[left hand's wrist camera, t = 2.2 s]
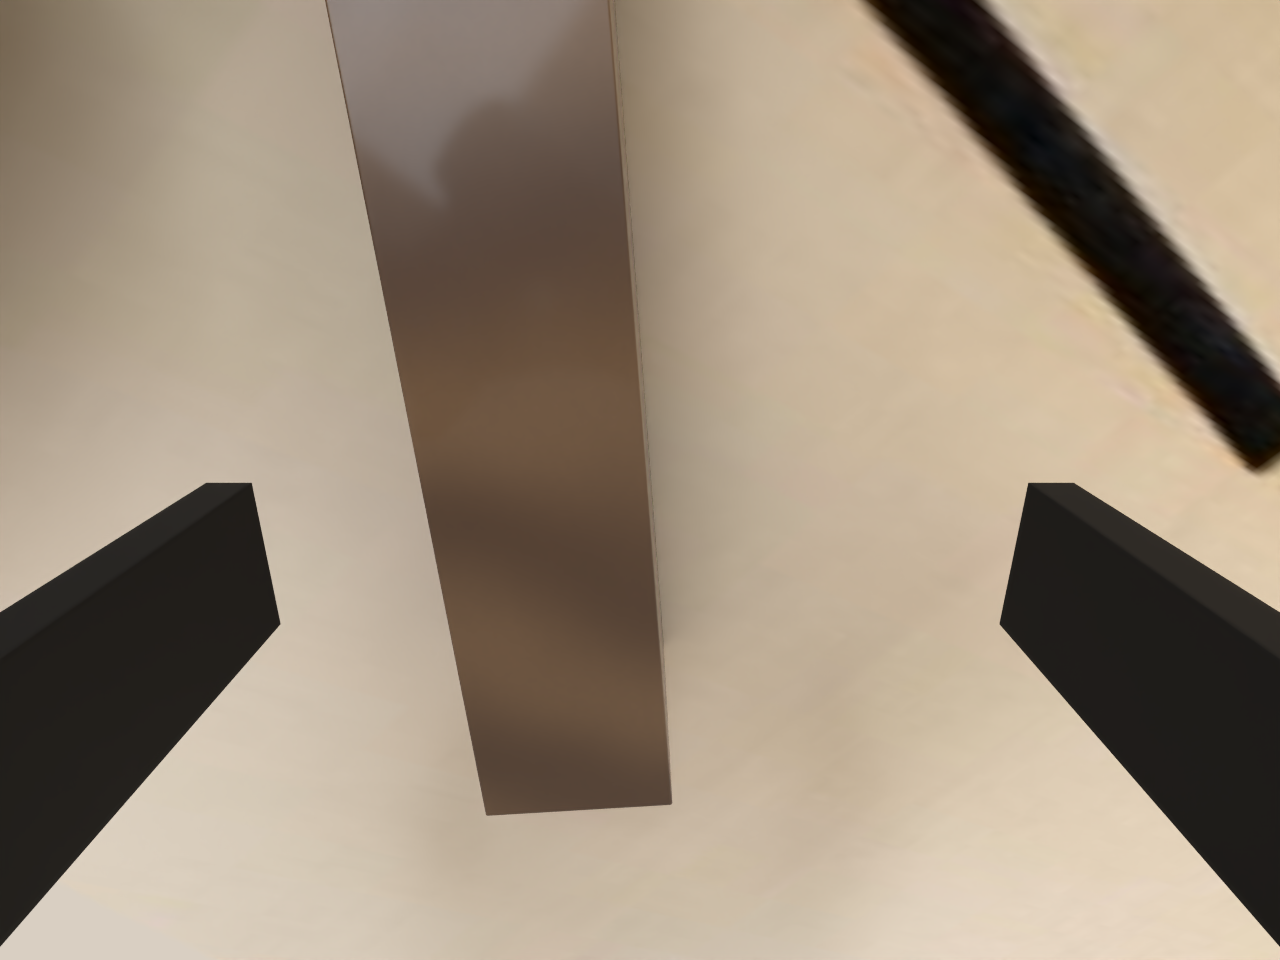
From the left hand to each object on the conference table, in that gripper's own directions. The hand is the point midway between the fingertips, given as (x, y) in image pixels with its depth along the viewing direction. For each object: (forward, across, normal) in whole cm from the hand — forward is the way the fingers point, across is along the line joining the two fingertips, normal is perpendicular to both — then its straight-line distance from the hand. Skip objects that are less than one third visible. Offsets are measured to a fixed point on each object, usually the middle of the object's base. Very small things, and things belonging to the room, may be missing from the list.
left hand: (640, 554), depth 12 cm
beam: (+14, +4, -21) cm, 25 cm away
